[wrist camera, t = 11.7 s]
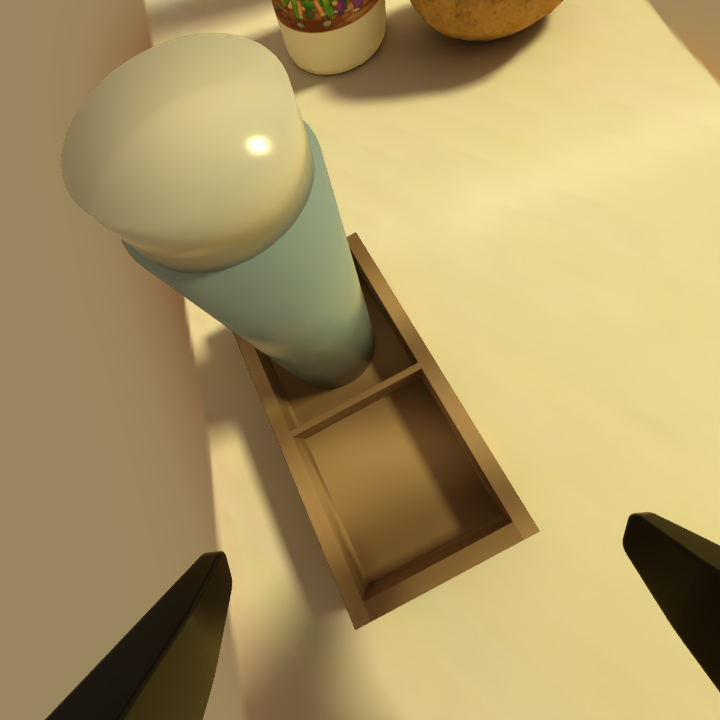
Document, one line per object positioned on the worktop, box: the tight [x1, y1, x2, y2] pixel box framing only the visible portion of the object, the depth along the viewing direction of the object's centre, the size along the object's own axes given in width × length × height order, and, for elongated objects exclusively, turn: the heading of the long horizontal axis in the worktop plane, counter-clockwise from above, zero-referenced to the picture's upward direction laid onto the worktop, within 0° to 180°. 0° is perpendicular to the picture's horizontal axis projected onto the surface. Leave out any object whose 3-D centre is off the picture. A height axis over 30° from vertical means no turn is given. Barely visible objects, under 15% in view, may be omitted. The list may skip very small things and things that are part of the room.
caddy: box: [233, 232, 539, 630], centre depth 17 cm, size 16×8×3 cm, turn 27°
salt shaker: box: [61, 33, 375, 389], centre depth 13 cm, size 5×5×13 cm
